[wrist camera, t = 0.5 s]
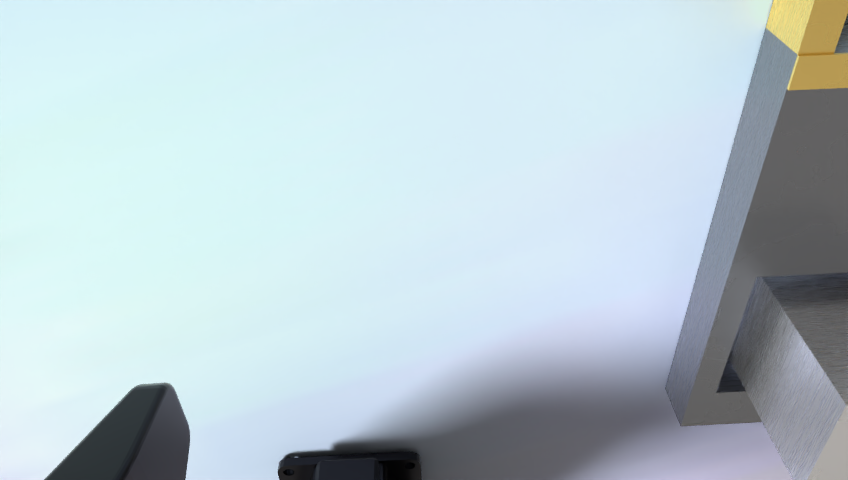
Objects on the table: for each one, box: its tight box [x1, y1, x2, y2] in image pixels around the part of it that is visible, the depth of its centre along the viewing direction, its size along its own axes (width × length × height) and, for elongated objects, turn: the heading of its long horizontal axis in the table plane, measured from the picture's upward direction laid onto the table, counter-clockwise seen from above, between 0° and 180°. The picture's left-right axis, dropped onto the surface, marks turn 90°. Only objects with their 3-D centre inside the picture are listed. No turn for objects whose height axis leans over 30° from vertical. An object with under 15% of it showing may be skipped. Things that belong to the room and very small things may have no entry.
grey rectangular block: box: [728, 273, 848, 480], centre depth 25 cm, size 4×4×7 cm
